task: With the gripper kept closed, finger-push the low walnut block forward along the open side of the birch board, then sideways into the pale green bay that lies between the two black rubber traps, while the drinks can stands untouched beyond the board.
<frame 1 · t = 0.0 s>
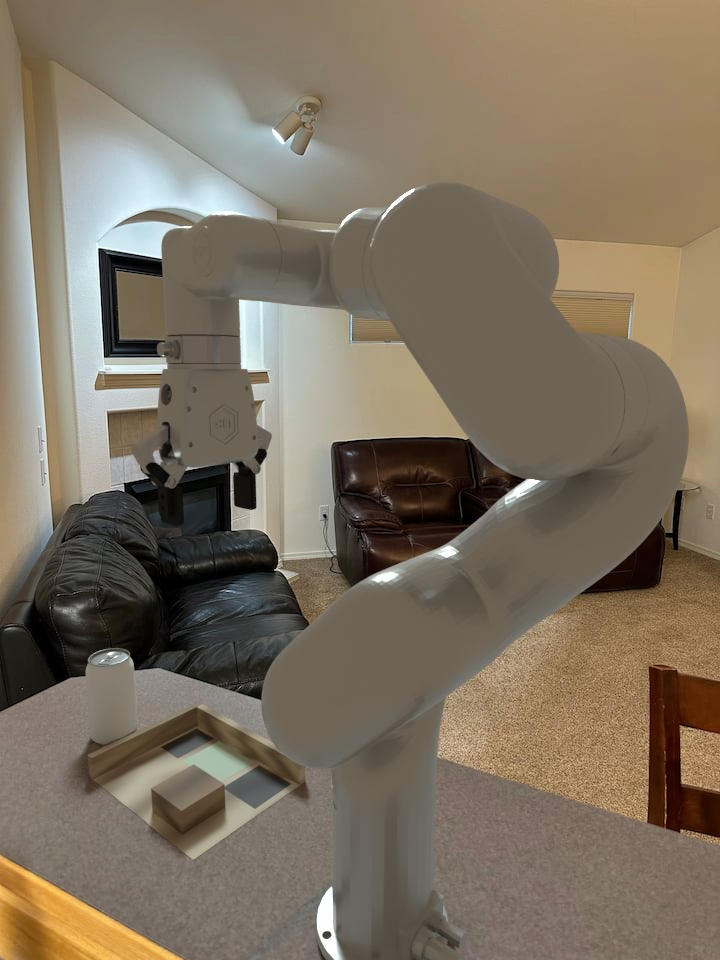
hand: (210, 515, 69), 37 cm above the counter, tool pointing down, fingers open, 9 cm apart
board: (196, 785, 81), on the counter
green pad: (218, 768, 85), resting on board
block: (189, 808, 76), point 1 cm above the counter, touching board
can: (114, 735, 93), on the counter
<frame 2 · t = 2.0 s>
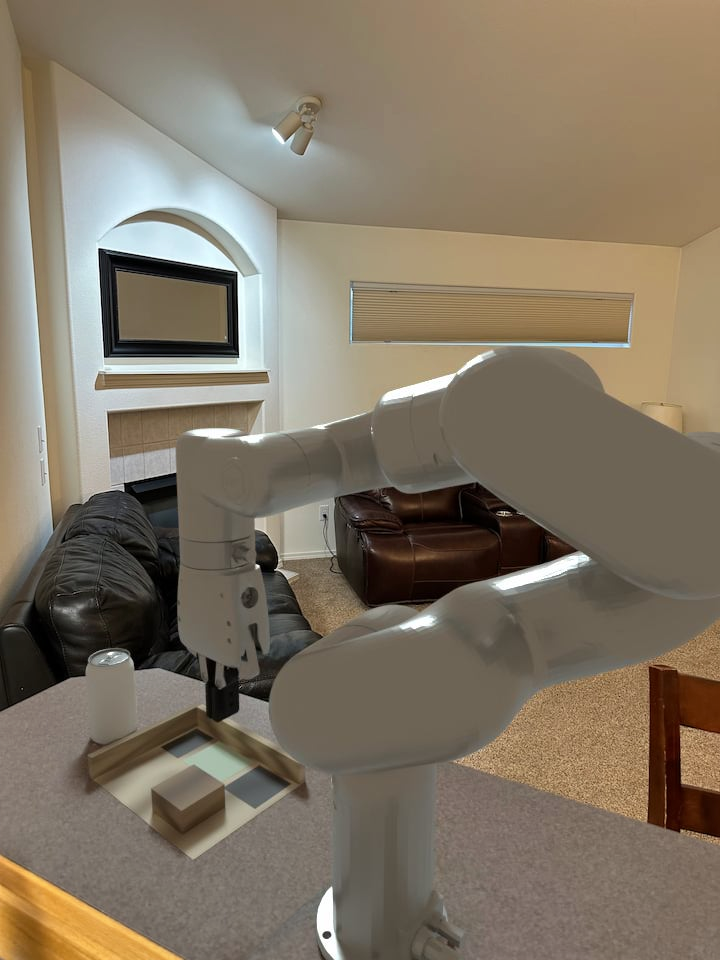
hand: (223, 714, 69), 16 cm above the counter, tool pointing down, fingers closed
nothing on the counter moved.
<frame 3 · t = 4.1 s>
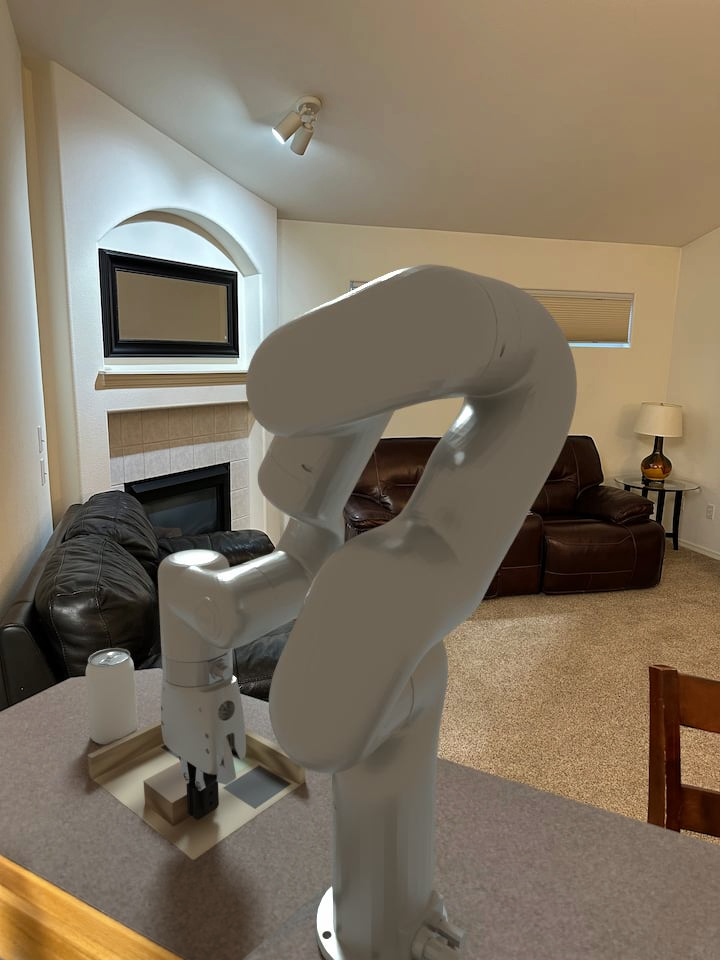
hand: (203, 810, 74), 2 cm above the counter, tool pointing down, fingers closed
block: (180, 801, 77), point 1 cm above the counter, touching board, gripper
everything else where it was.
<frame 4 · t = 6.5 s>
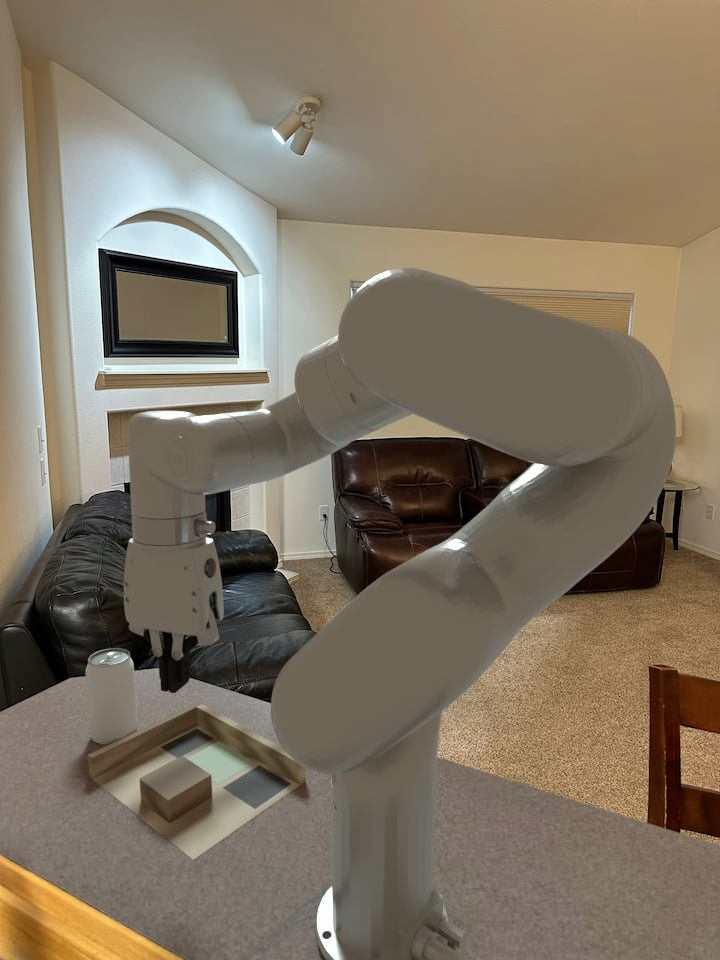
hand: (175, 686, 72), 17 cm above the counter, tool pointing down, fingers closed
block: (176, 799, 78), point 1 cm above the counter, touching board
everything else where it was.
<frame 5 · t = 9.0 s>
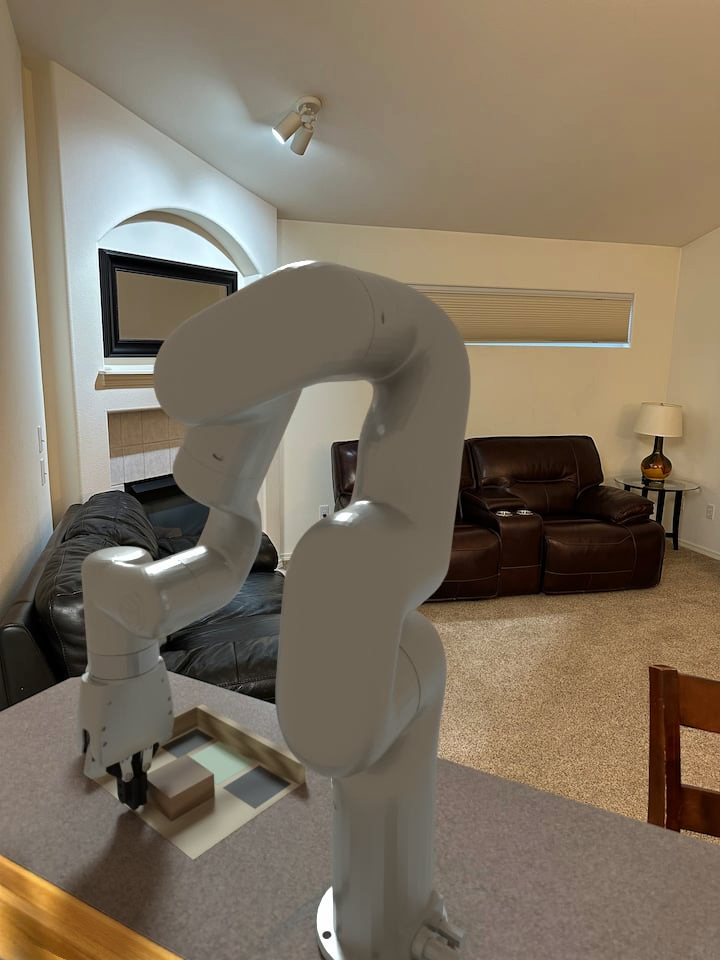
hand: (133, 801, 75), 2 cm above the counter, tool pointing down, fingers closed
block: (179, 797, 78), point 1 cm above the counter, touching gripper
everything else where it was.
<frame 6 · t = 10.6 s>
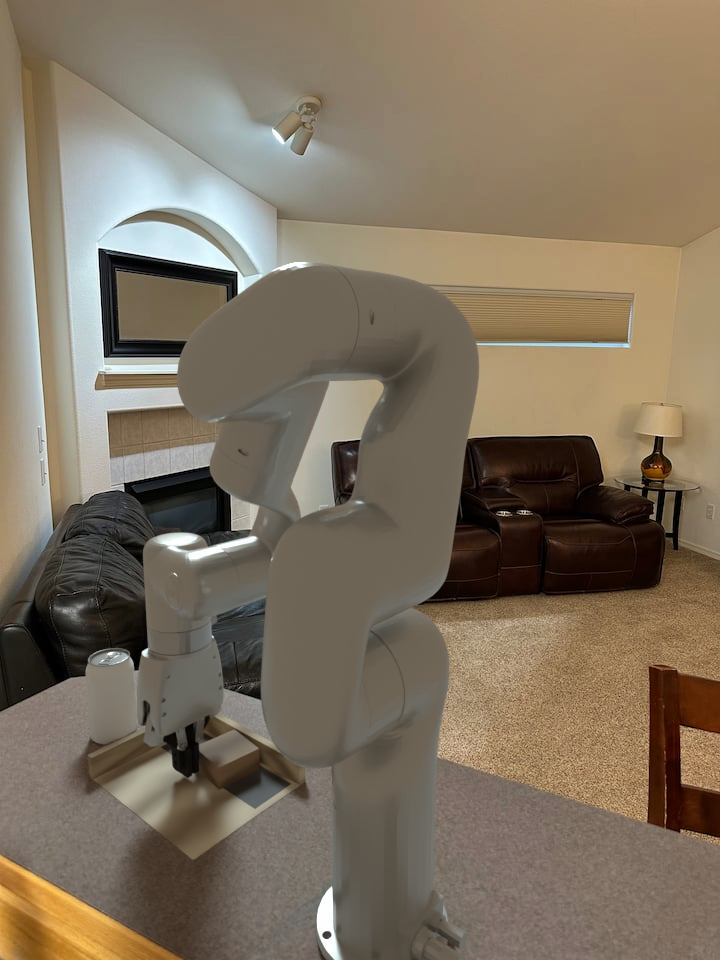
hand: (186, 770, 81), 2 cm above the counter, tool pointing down, fingers closed
block: (227, 768, 83), point 1 cm above the counter, touching board, green pad, gripper
everything else where it was.
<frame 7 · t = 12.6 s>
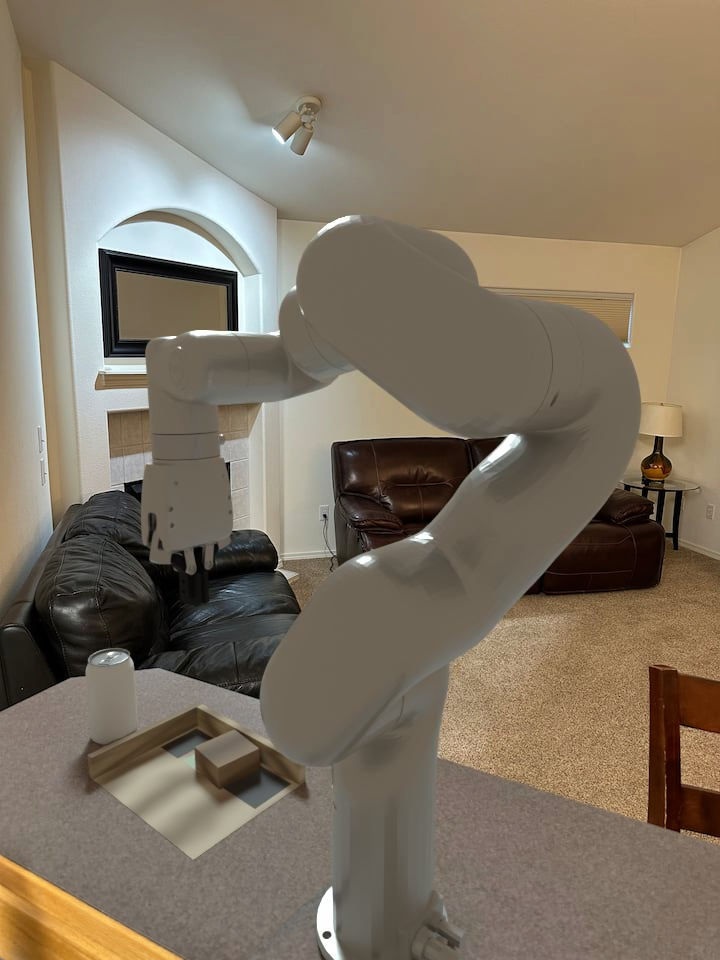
hand: (195, 602, 76), 25 cm above the counter, tool pointing down, fingers closed
block: (227, 768, 83), point 1 cm above the counter, touching board, green pad
everything else where it was.
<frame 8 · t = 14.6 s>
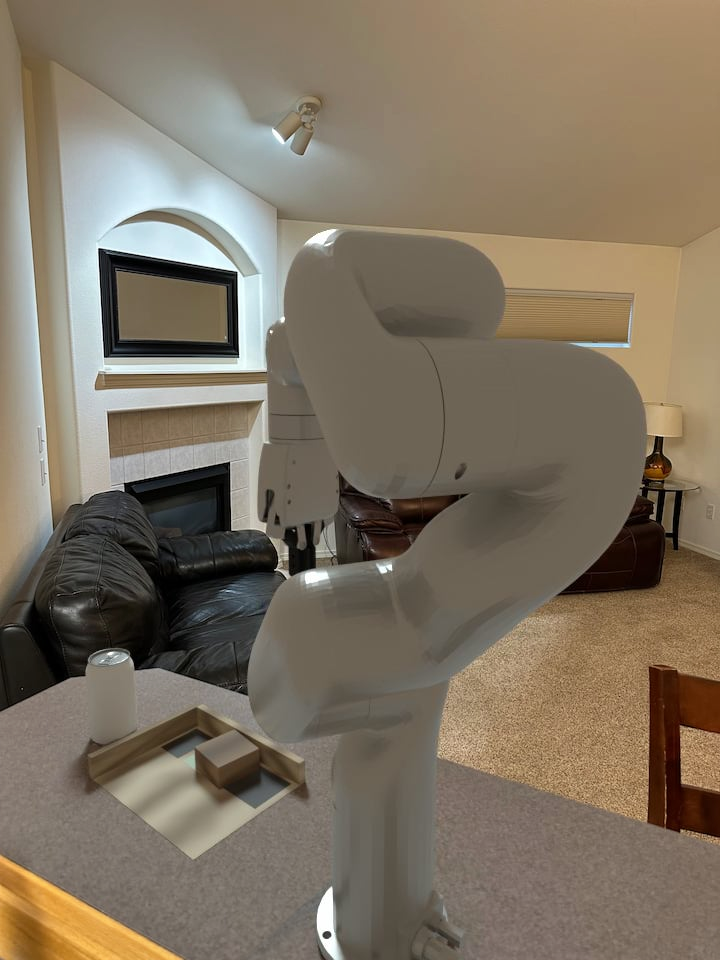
hand: (302, 576, 79), 27 cm above the counter, tool pointing down, fingers closed
nothing on the counter moved.
at the end: block inside the target area (2.2 cm from its centre), point 1.0 cm above the counter; block tilted 0° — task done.
